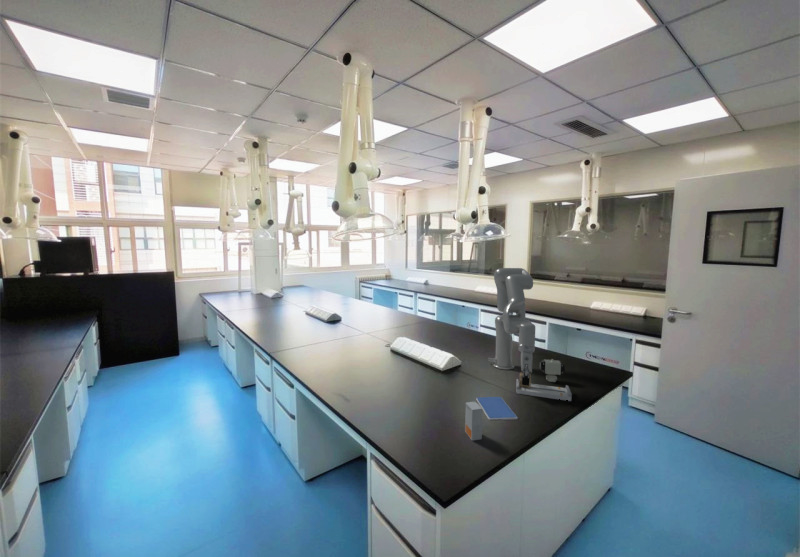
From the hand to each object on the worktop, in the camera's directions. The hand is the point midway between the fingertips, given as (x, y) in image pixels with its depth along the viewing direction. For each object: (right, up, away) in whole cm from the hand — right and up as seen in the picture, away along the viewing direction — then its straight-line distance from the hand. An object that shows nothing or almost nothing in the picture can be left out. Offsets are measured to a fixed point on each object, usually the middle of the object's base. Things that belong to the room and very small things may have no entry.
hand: (525, 381), depth 158 cm
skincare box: (-35, -8, -39) cm, 53 cm away
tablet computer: (-20, -7, -18) cm, 28 cm away
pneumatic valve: (+19, -4, +13) cm, 23 cm away
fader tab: (0, -3, 0) cm, 2 cm away
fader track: (+8, -5, -2) cm, 9 cm away
